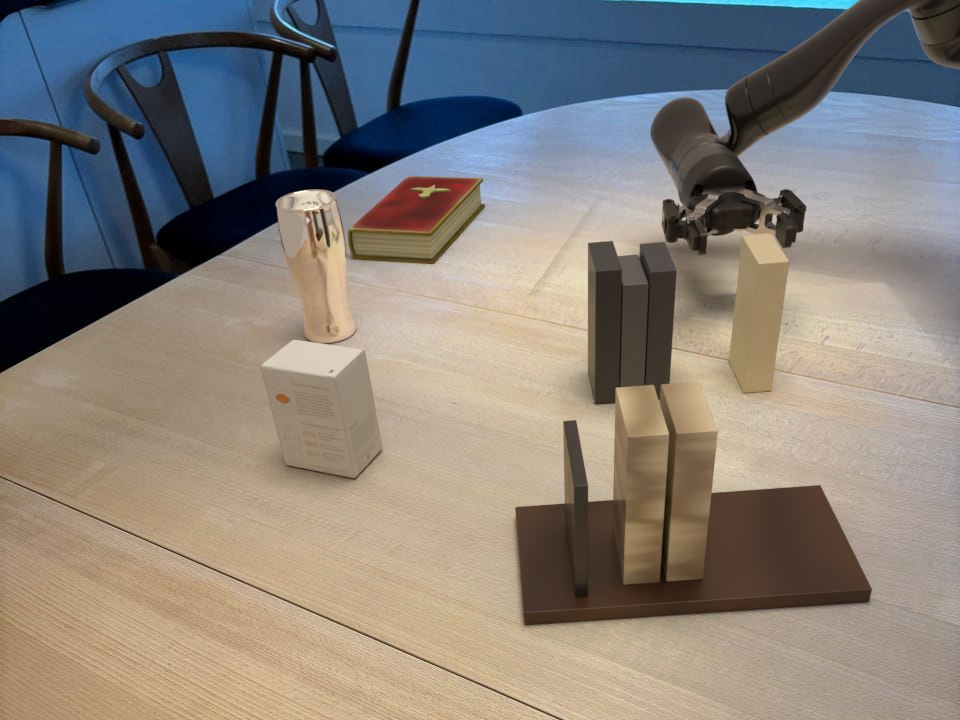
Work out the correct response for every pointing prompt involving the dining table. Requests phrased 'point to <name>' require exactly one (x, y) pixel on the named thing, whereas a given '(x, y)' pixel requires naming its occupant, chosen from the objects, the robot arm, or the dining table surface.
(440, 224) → the hardcover book
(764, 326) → the cream book
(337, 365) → the small box
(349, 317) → the beer glass
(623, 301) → the grey books
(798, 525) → the shelf
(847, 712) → the dining table surface
